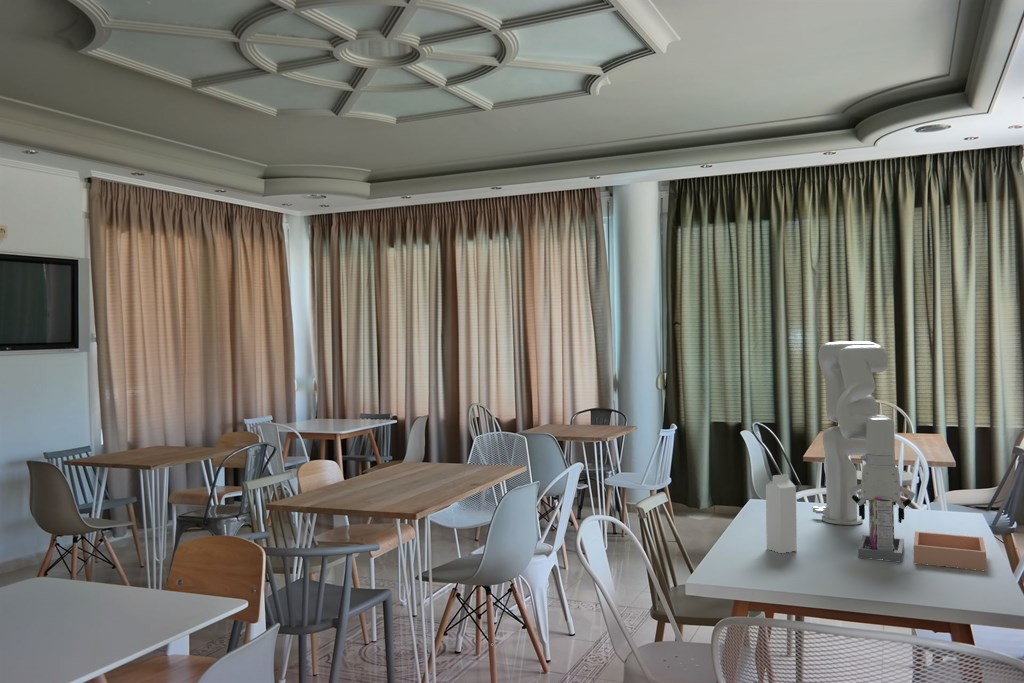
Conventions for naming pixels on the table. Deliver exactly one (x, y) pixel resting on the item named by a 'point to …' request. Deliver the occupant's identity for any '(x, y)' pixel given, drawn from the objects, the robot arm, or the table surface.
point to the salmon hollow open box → (949, 550)
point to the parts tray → (880, 553)
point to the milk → (781, 514)
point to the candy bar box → (881, 524)
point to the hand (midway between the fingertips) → (881, 520)
